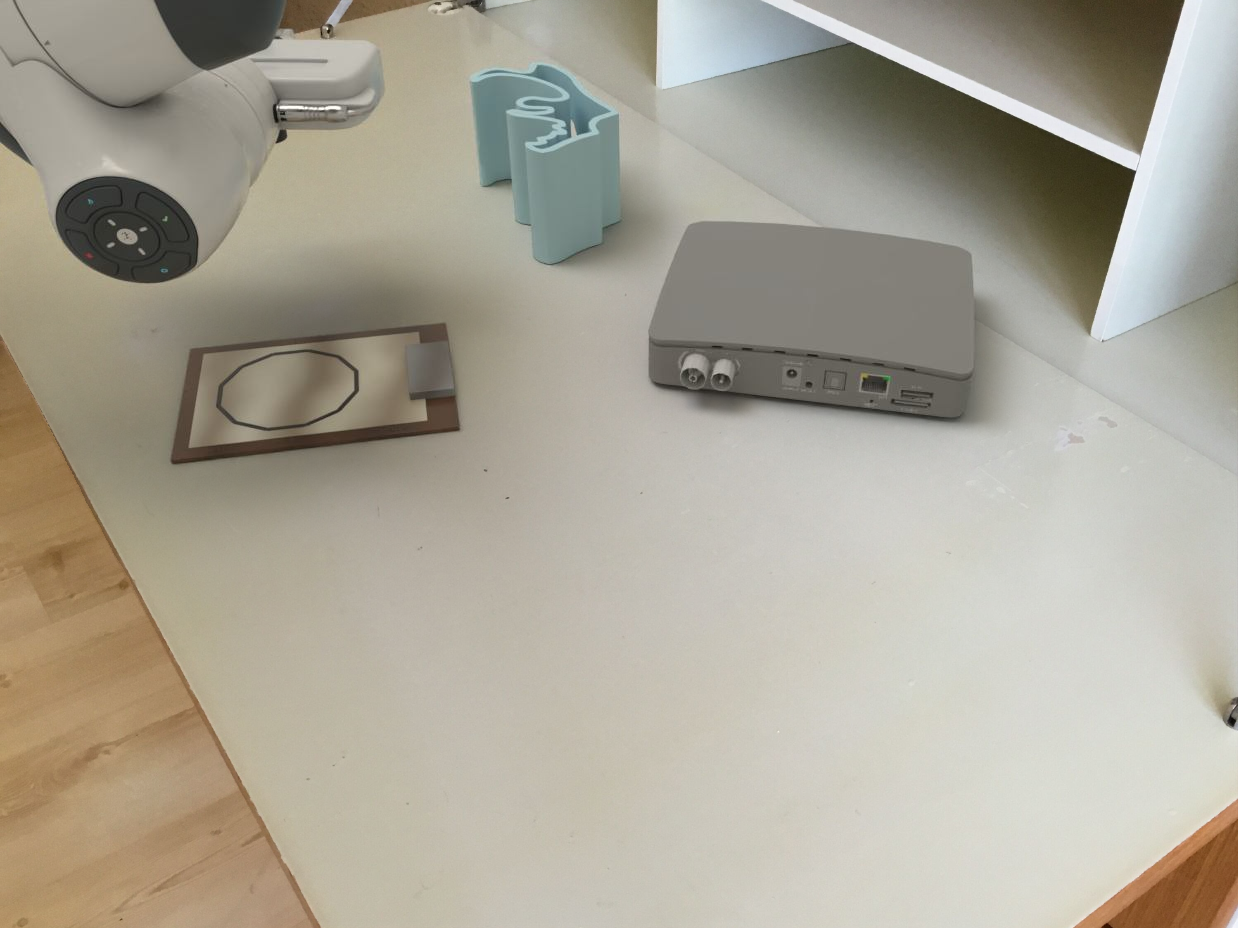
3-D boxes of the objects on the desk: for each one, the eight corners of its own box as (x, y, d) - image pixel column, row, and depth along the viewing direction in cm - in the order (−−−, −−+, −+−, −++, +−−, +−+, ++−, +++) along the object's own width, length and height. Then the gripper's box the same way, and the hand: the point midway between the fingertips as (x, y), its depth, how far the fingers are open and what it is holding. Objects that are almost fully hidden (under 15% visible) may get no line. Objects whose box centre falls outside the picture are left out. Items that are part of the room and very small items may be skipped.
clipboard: (171, 463, 72) (167, 452, 72) (191, 352, 82) (187, 340, 81) (459, 429, 75) (458, 418, 75) (446, 325, 85) (444, 314, 84)
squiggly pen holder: (649, 237, 96) (649, 128, 89) (543, 266, 92) (535, 154, 86) (553, 157, 107) (547, 56, 101) (455, 180, 103) (442, 76, 97)
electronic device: (963, 439, 75) (977, 376, 72) (640, 400, 78) (640, 338, 75) (962, 292, 89) (973, 234, 86) (688, 264, 92) (690, 206, 89)
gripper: (363, 67, 71) (392, -5, 81) (21, 63, 70) (95, -9, 80) (377, 164, 75) (403, 84, 85) (55, 162, 74) (121, 81, 84)
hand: (252, 39), depth 83 cm, fingers closed on marker, 3 cm apart
